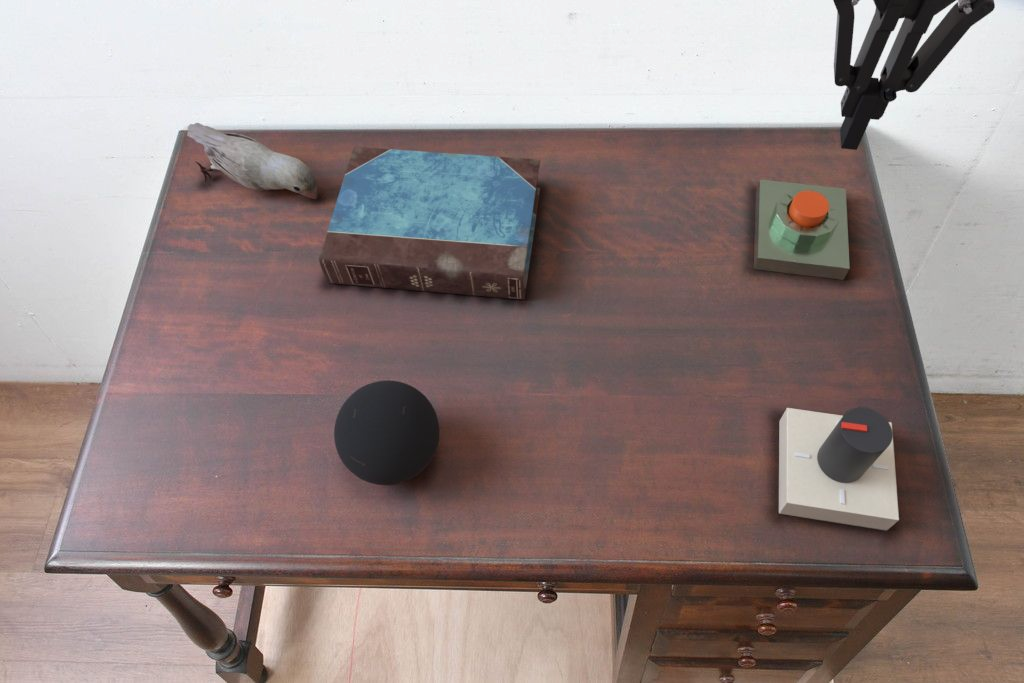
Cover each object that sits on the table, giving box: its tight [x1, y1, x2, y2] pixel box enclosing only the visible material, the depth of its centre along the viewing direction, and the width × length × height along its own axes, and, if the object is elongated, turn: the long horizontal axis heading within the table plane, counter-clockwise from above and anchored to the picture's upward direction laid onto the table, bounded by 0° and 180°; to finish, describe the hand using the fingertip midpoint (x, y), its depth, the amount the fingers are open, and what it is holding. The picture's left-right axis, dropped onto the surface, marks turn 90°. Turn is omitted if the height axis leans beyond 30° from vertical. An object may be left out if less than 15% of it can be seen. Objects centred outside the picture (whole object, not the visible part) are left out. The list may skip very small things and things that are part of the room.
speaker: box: [333, 380, 440, 486], centre depth 76 cm, size 10×10×10 cm
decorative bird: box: [186, 122, 318, 200], centre depth 98 cm, size 5×16×8 cm, turn 70°
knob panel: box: [778, 407, 900, 531], centre depth 77 cm, size 10×10×3 cm
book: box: [318, 146, 541, 301], centre depth 93 cm, size 23×18×5 cm
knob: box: [817, 406, 894, 483], centre depth 72 cm, size 4×4×7 cm
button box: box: [753, 179, 851, 281], centre depth 92 cm, size 12×10×4 cm
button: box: [789, 191, 829, 227], centre depth 90 cm, size 4×4×2 cm
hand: (848, 139), depth 79 cm, fingers closed
